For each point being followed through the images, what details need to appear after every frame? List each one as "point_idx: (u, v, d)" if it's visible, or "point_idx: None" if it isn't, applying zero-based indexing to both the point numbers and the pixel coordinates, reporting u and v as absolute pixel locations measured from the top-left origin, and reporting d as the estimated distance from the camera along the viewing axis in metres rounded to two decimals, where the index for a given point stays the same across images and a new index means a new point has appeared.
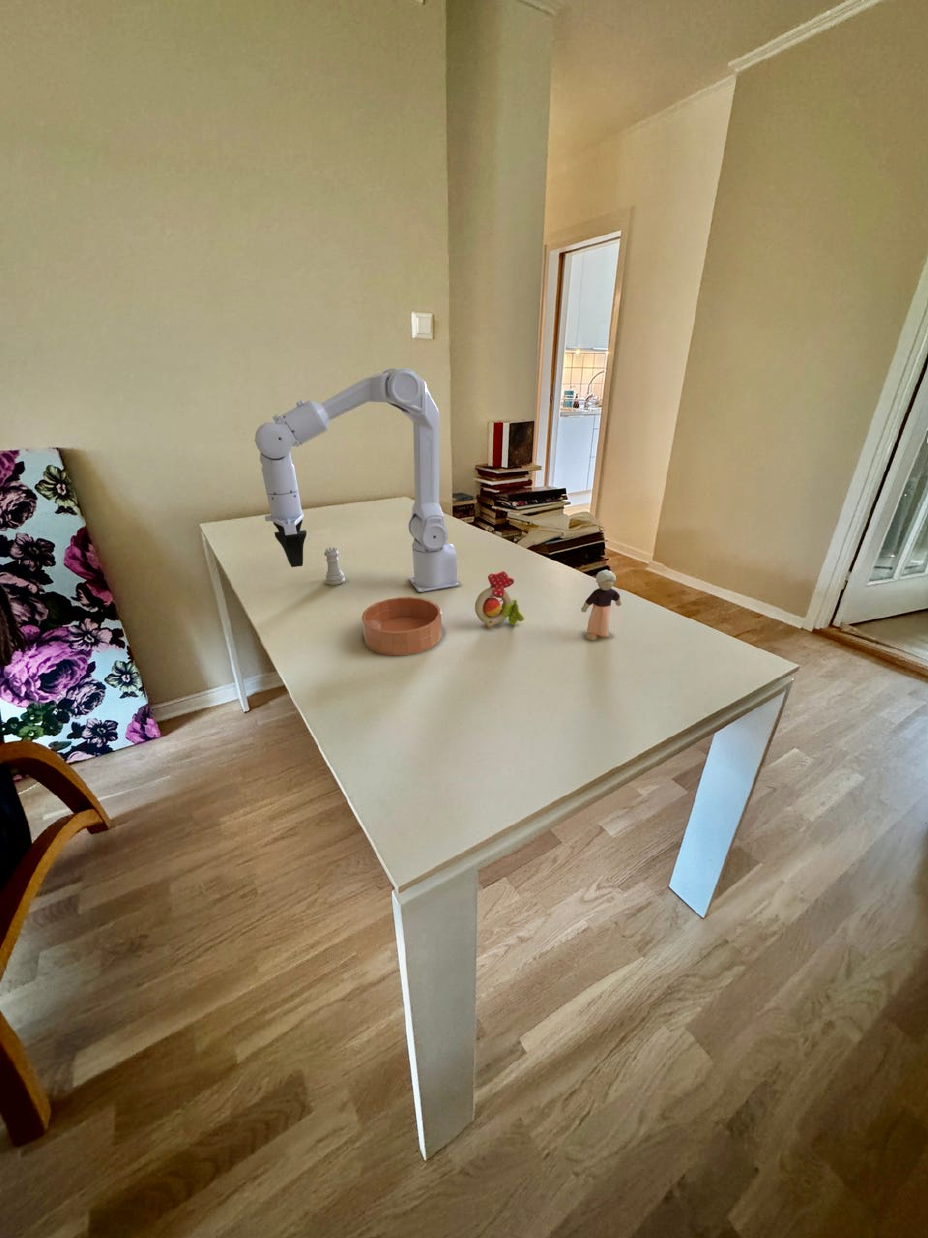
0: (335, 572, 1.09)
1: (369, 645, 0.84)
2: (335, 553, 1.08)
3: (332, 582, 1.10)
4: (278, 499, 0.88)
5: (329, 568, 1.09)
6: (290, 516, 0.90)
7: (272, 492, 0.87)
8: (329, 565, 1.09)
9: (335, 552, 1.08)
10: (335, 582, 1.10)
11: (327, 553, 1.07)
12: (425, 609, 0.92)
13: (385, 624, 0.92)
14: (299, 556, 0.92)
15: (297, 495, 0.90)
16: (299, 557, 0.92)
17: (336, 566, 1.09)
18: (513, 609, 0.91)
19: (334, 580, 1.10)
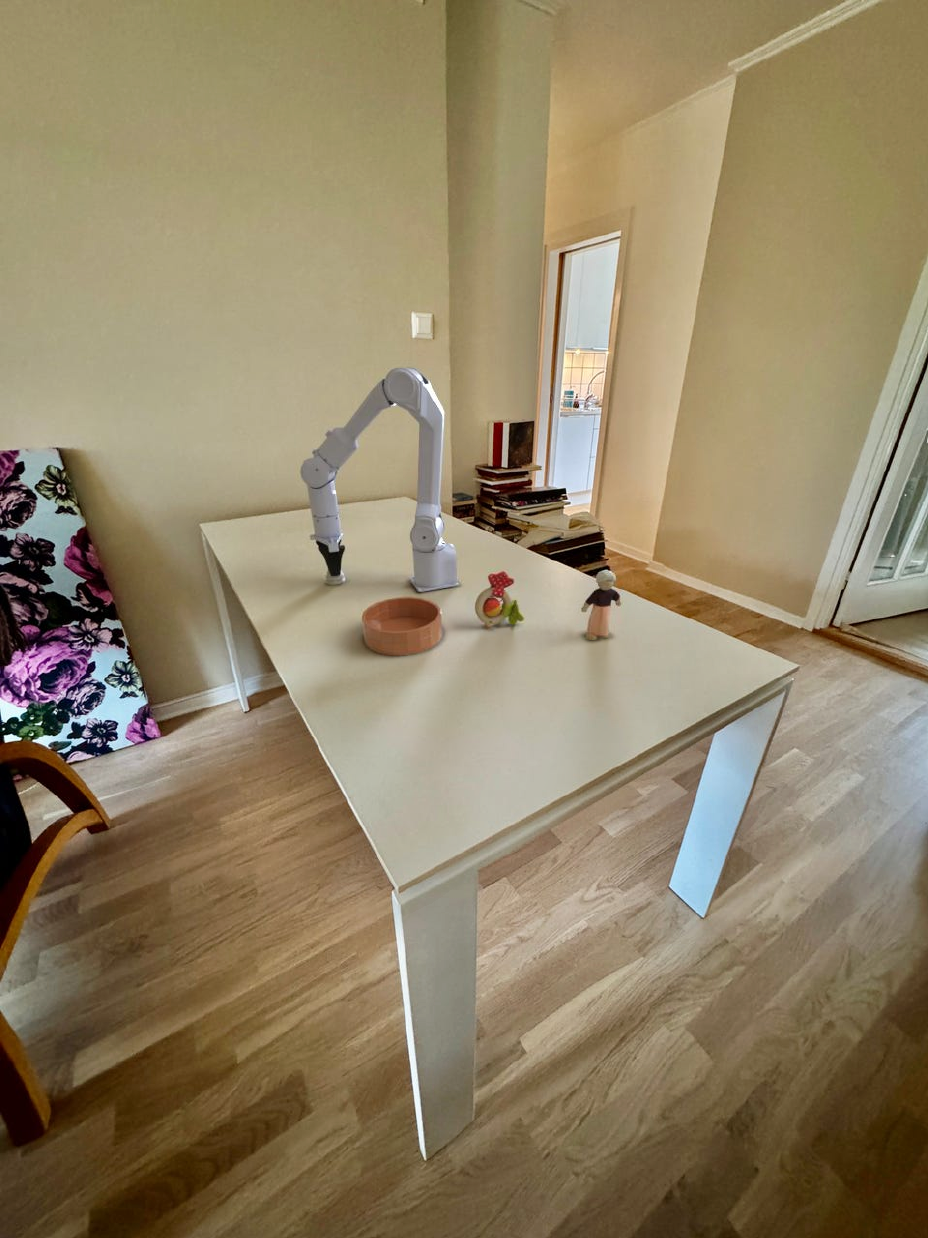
0: None
1: (369, 645, 0.84)
2: None
3: (332, 582, 1.10)
4: (322, 521, 1.02)
5: None
6: (332, 535, 1.04)
7: (313, 514, 1.02)
8: None
9: None
10: (335, 582, 1.10)
11: None
12: (425, 609, 0.92)
13: (385, 624, 0.92)
14: (338, 567, 1.08)
15: (338, 517, 1.04)
16: (338, 568, 1.08)
17: None
18: (513, 609, 0.91)
19: (334, 580, 1.10)
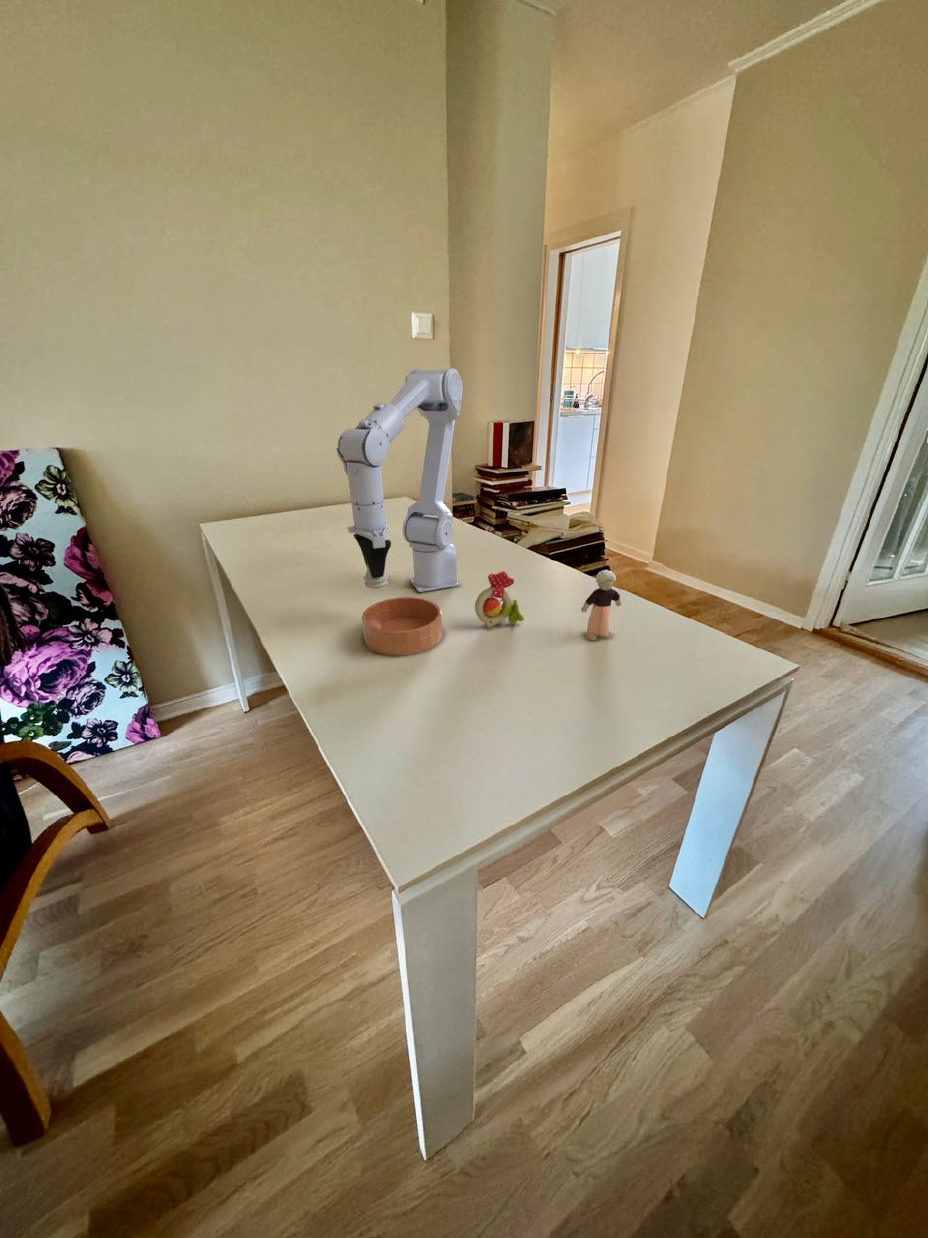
0: None
1: (369, 645, 0.84)
2: None
3: (373, 585, 0.90)
4: (365, 510, 0.83)
5: None
6: (376, 528, 0.84)
7: (371, 502, 0.82)
8: None
9: None
10: (376, 585, 0.90)
11: None
12: (425, 609, 0.92)
13: (385, 624, 0.92)
14: (381, 567, 0.88)
15: (383, 505, 0.85)
16: (381, 568, 0.88)
17: None
18: (513, 609, 0.91)
19: (375, 583, 0.90)
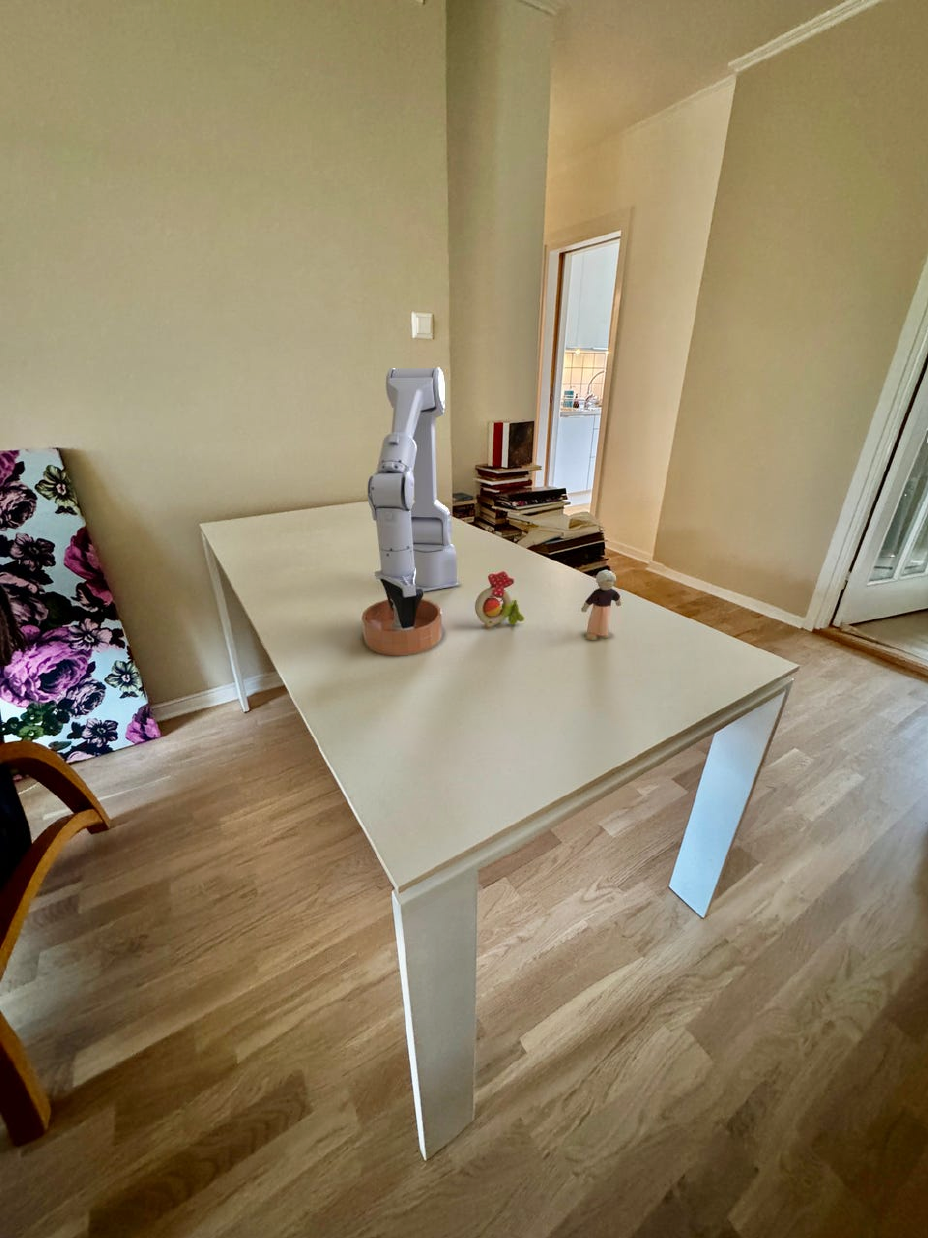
0: None
1: (369, 645, 0.84)
2: None
3: None
4: (394, 556, 0.79)
5: (396, 617, 0.86)
6: (405, 574, 0.80)
7: (405, 547, 0.79)
8: (397, 614, 0.85)
9: None
10: None
11: None
12: (425, 609, 0.92)
13: (385, 624, 0.92)
14: (412, 617, 0.83)
15: (412, 550, 0.81)
16: (412, 618, 0.83)
17: None
18: (513, 609, 0.91)
19: None
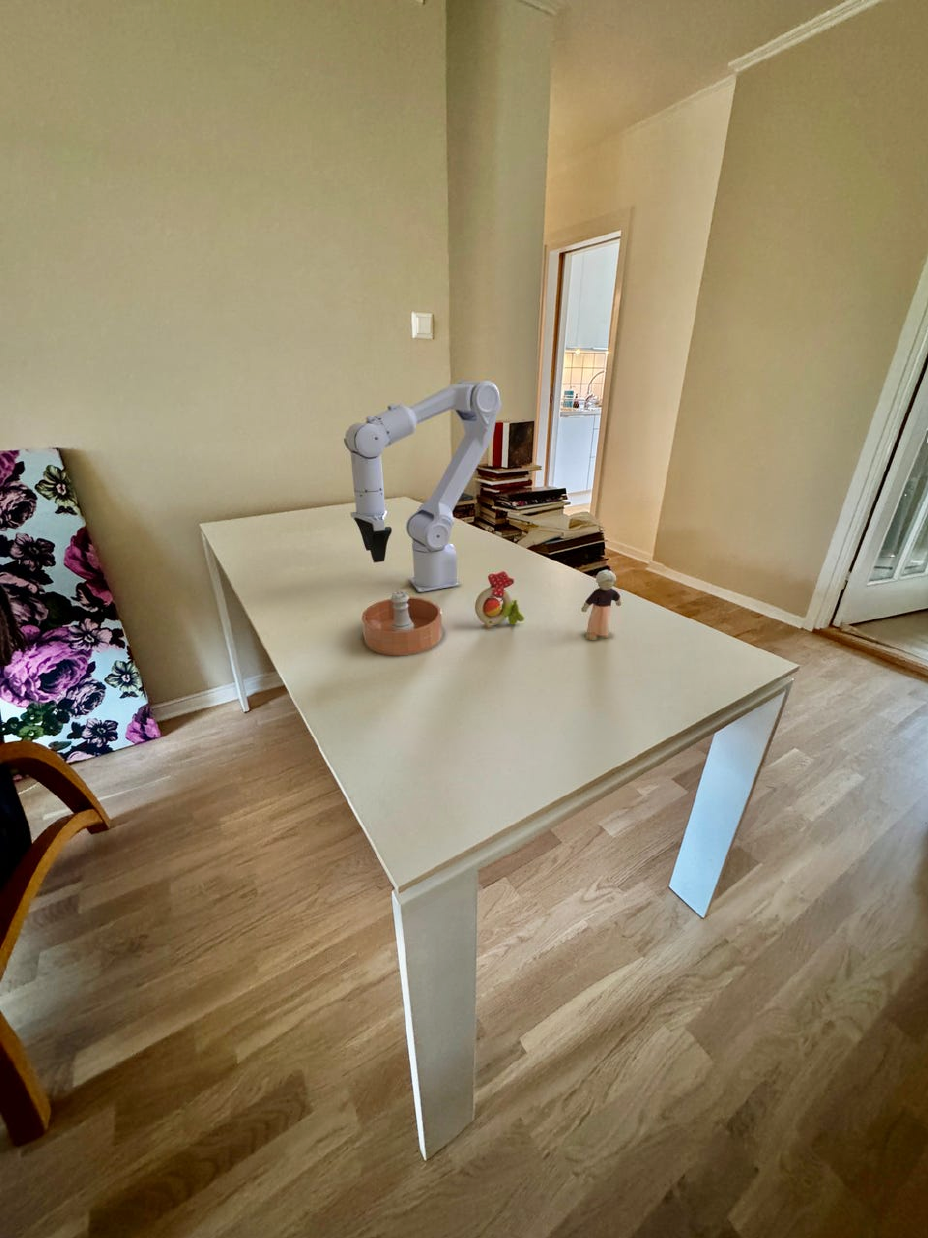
0: (403, 623, 0.86)
1: (369, 645, 0.84)
2: (405, 599, 0.84)
3: None
4: (366, 496, 0.92)
5: (396, 617, 0.86)
6: (376, 513, 0.93)
7: (364, 490, 0.91)
8: (397, 614, 0.85)
9: (405, 597, 0.84)
10: None
11: (395, 599, 0.84)
12: (425, 609, 0.92)
13: (385, 624, 0.92)
14: (382, 552, 0.96)
15: (383, 493, 0.94)
16: (382, 552, 0.96)
17: (405, 614, 0.86)
18: (513, 609, 0.91)
19: None
